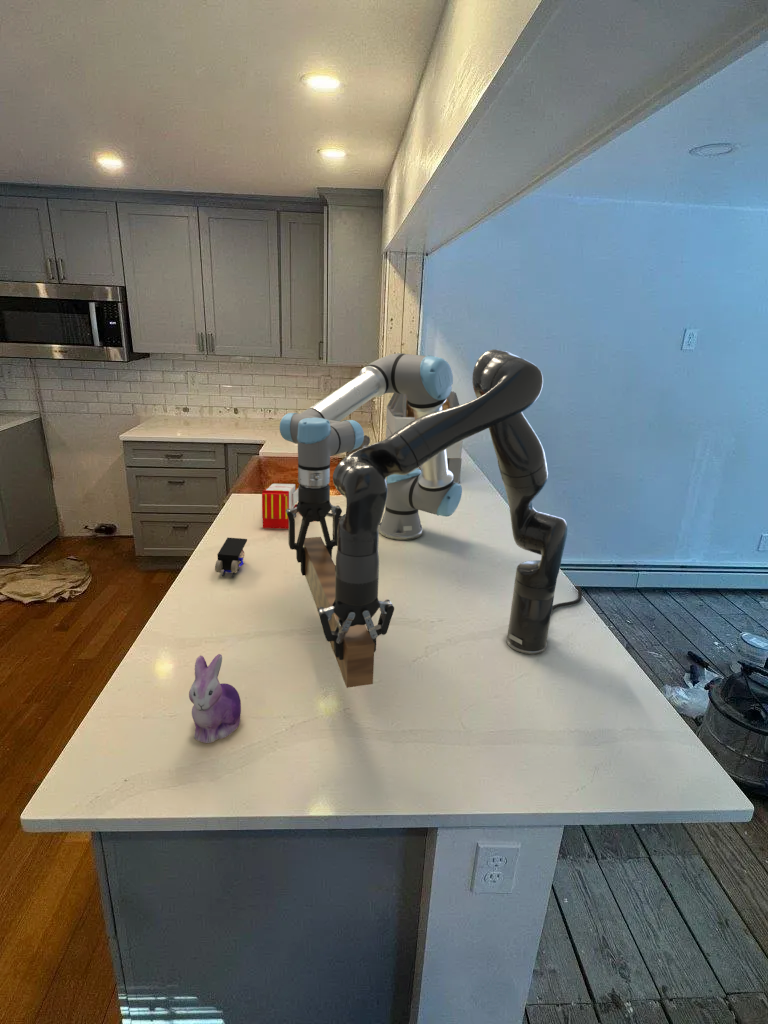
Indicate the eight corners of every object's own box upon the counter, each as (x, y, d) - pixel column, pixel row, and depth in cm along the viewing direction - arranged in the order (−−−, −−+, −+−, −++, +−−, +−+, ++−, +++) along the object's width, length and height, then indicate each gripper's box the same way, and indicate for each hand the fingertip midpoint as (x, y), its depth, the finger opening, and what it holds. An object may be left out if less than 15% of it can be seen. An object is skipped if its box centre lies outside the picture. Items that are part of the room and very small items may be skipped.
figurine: (196, 753, 99) (190, 681, 94) (186, 717, 107) (180, 649, 102) (250, 737, 103) (246, 667, 98) (236, 703, 112) (232, 637, 107)
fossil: (346, 441, 313) (367, 426, 308) (356, 454, 316) (378, 440, 311) (339, 455, 293) (362, 439, 288) (351, 469, 296) (373, 453, 291)
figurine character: (238, 584, 162) (249, 557, 175) (236, 562, 158) (247, 536, 172) (215, 584, 161) (227, 556, 175) (212, 561, 158) (225, 535, 171)
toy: (301, 479, 224) (291, 492, 194) (301, 512, 226) (291, 530, 197) (270, 478, 223) (256, 491, 194) (271, 511, 226) (256, 529, 197)
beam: (302, 568, 146) (301, 538, 143) (320, 566, 147) (320, 536, 145) (346, 688, 101) (347, 647, 98) (372, 684, 102) (374, 643, 100)
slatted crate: (382, 463, 289) (386, 382, 275) (445, 464, 293) (451, 384, 279) (390, 482, 257) (394, 392, 243) (460, 483, 261) (468, 394, 247)
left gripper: (277, 490, 129) (280, 582, 137) (354, 486, 134) (352, 575, 142) (274, 481, 136) (276, 568, 144) (347, 477, 141) (345, 562, 149)
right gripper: (320, 586, 93) (320, 673, 99) (403, 577, 97) (398, 661, 103) (312, 566, 100) (312, 649, 106) (390, 559, 104) (386, 639, 110)
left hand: (314, 571), depth 143 cm, fingers closed on beam, 5 cm apart
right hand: (355, 655), depth 104 cm, fingers closed on beam, 5 cm apart
